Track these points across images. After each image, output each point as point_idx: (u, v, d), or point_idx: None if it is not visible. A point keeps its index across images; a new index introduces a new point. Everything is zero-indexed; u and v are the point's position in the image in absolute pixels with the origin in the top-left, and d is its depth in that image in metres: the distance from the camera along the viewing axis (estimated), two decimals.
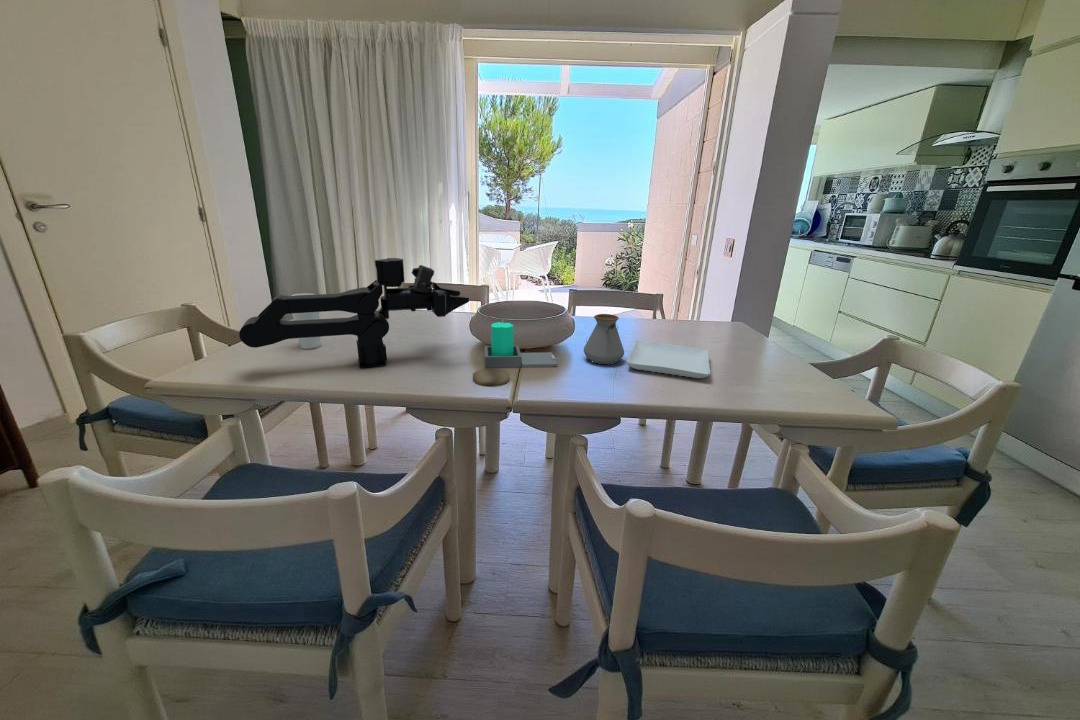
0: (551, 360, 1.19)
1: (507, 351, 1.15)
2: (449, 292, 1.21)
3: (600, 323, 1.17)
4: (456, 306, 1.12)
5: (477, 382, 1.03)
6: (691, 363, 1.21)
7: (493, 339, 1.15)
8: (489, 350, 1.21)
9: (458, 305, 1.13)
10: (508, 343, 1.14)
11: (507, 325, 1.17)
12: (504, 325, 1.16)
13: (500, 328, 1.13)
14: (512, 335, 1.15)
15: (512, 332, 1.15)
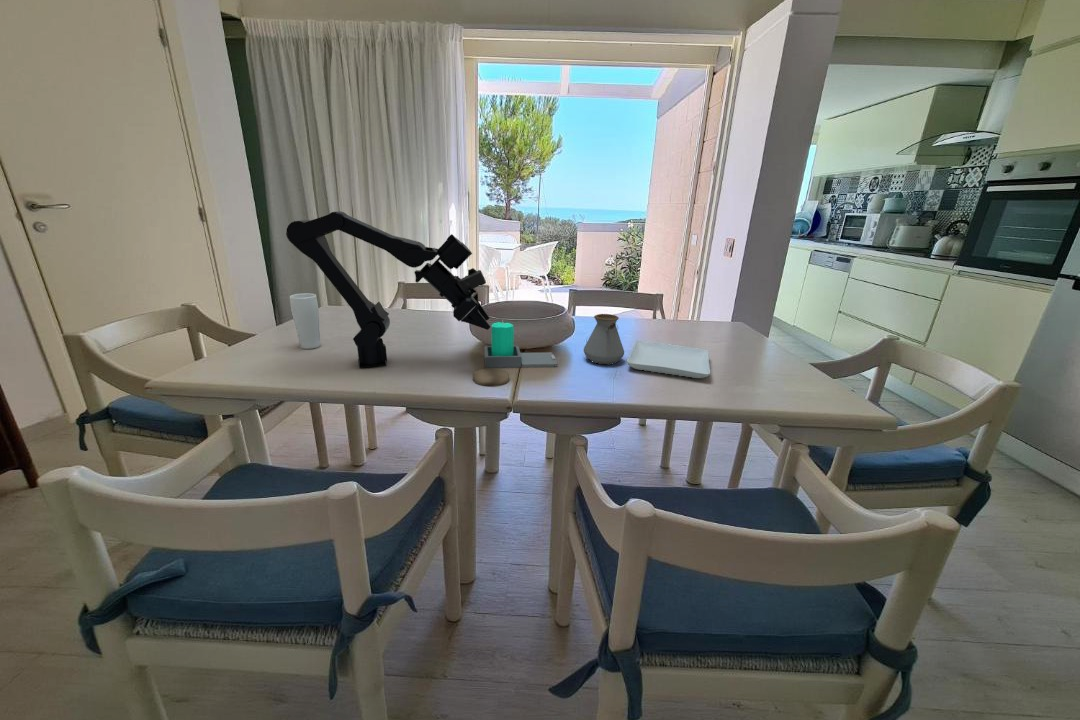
0: (551, 360, 1.19)
1: (508, 351, 1.15)
2: (481, 311, 1.18)
3: (600, 323, 1.17)
4: (475, 323, 1.08)
5: (477, 382, 1.03)
6: (691, 363, 1.21)
7: (493, 339, 1.15)
8: (489, 350, 1.21)
9: (477, 324, 1.08)
10: (508, 343, 1.14)
11: (507, 325, 1.17)
12: (504, 325, 1.16)
13: (500, 328, 1.13)
14: (512, 335, 1.15)
15: (512, 332, 1.15)
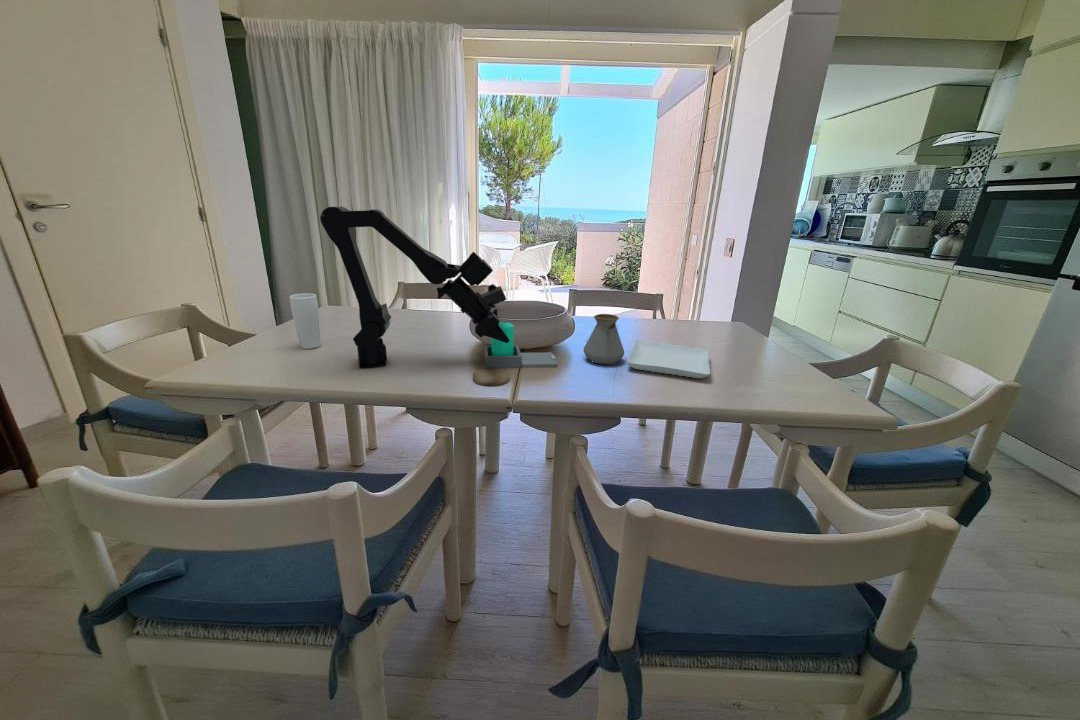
0: (551, 360, 1.19)
1: (508, 351, 1.15)
2: None
3: (600, 323, 1.17)
4: (495, 337, 1.12)
5: (477, 382, 1.03)
6: (691, 363, 1.21)
7: (493, 339, 1.15)
8: (489, 350, 1.21)
9: (497, 337, 1.12)
10: (508, 343, 1.14)
11: (507, 325, 1.17)
12: (504, 325, 1.16)
13: None
14: (512, 335, 1.15)
15: (512, 332, 1.15)
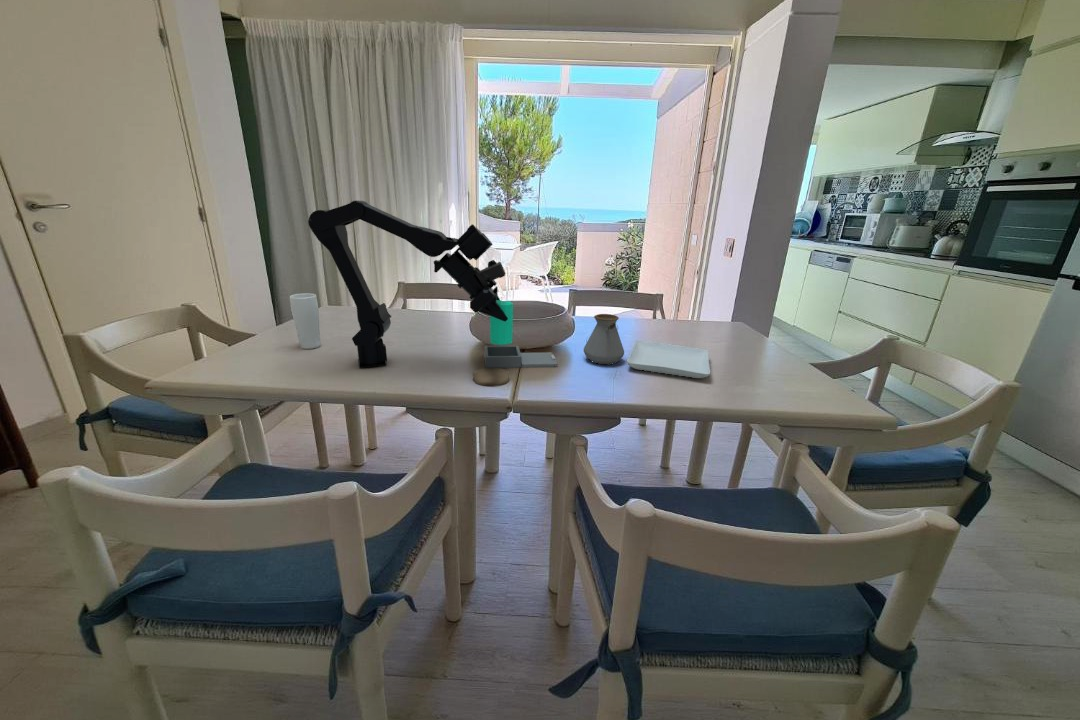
0: (551, 360, 1.19)
1: (506, 330, 1.10)
2: None
3: (600, 323, 1.17)
4: (492, 314, 1.07)
5: (477, 382, 1.03)
6: (691, 363, 1.21)
7: (491, 317, 1.10)
8: (489, 350, 1.21)
9: (494, 315, 1.07)
10: (506, 322, 1.10)
11: (507, 303, 1.12)
12: (504, 303, 1.12)
13: None
14: (511, 313, 1.10)
15: (512, 310, 1.10)
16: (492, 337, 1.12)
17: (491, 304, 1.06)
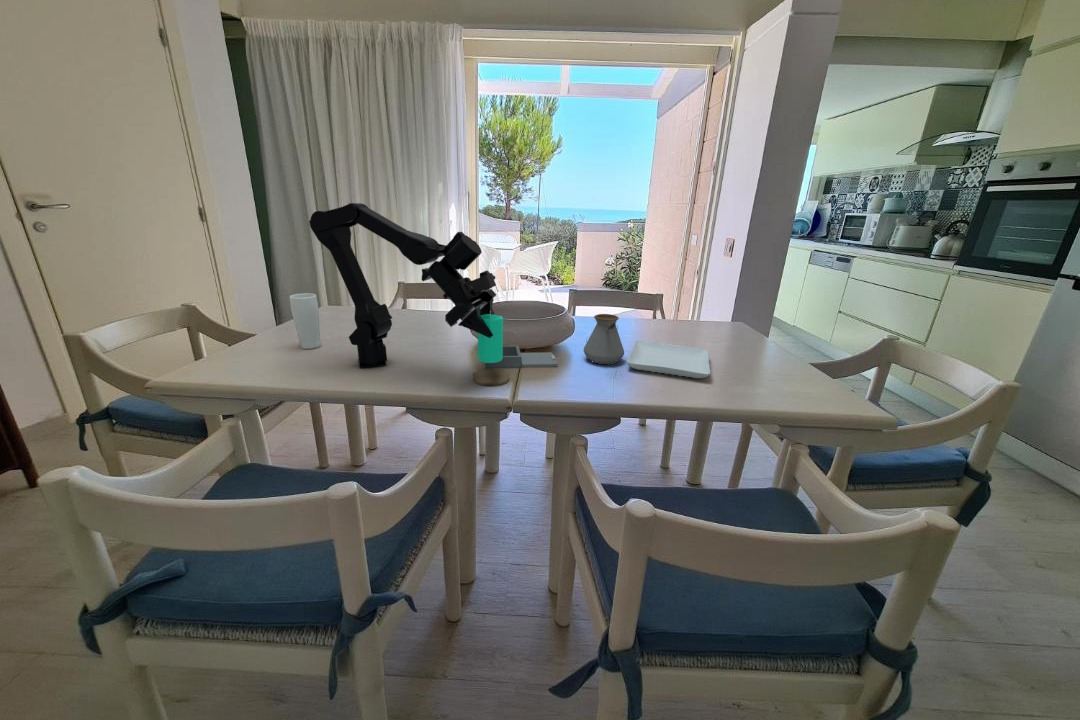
0: (551, 360, 1.19)
1: (491, 347, 1.01)
2: None
3: (600, 323, 1.17)
4: (475, 329, 0.99)
5: (477, 382, 1.03)
6: (691, 363, 1.21)
7: None
8: None
9: (477, 330, 0.99)
10: (491, 339, 1.00)
11: (497, 318, 1.02)
12: (494, 318, 1.02)
13: None
14: (498, 330, 1.00)
15: (499, 326, 1.00)
16: (478, 353, 1.03)
17: (474, 318, 0.98)
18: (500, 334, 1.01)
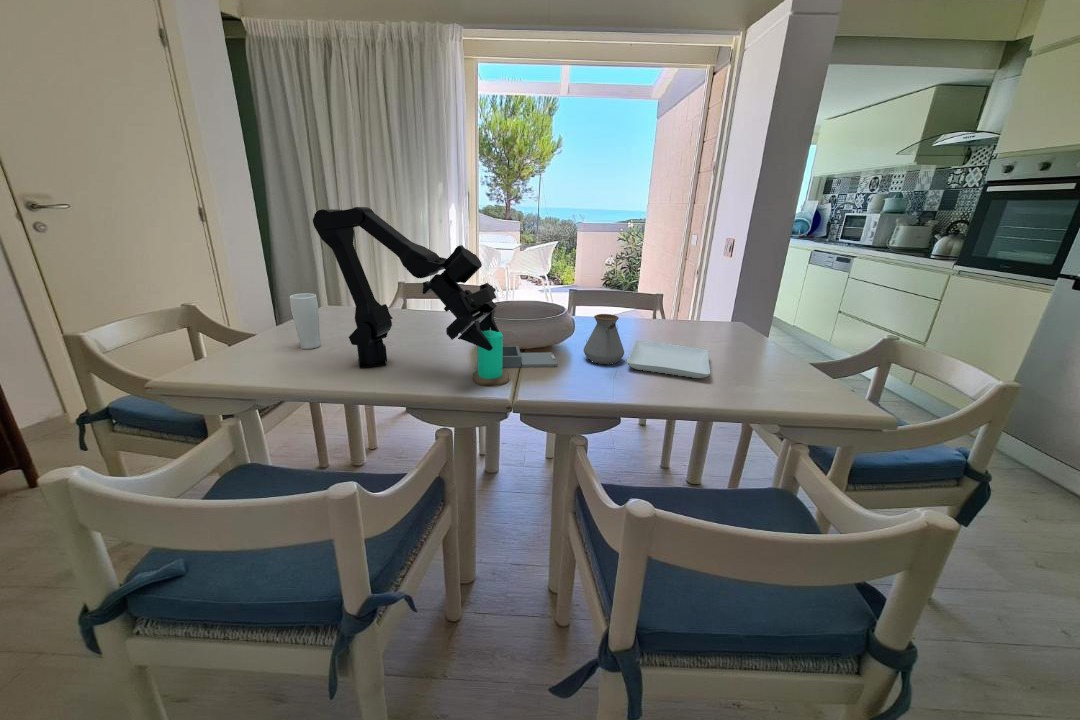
0: (551, 360, 1.19)
1: (491, 364, 1.02)
2: None
3: (600, 323, 1.17)
4: (474, 342, 0.99)
5: (477, 382, 1.03)
6: (691, 363, 1.21)
7: (478, 348, 1.03)
8: None
9: (477, 343, 0.99)
10: (491, 355, 1.01)
11: (497, 335, 1.03)
12: (494, 334, 1.03)
13: None
14: (498, 347, 1.02)
15: (498, 343, 1.01)
16: (478, 369, 1.05)
17: (473, 331, 0.98)
18: (499, 351, 1.02)
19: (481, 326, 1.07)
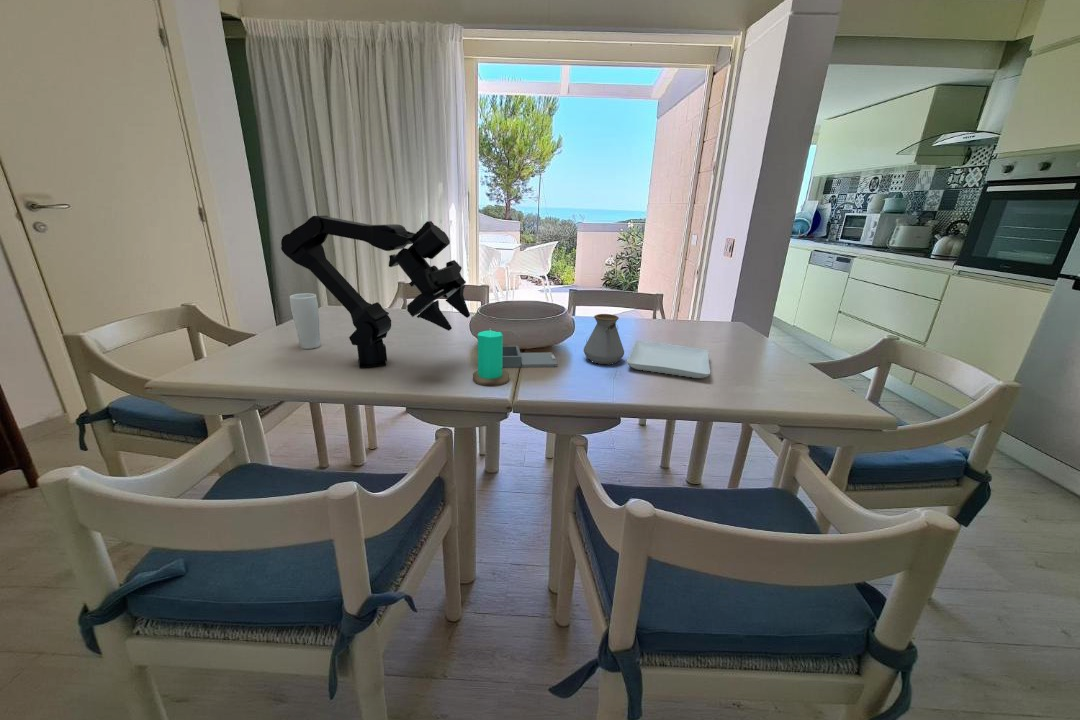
0: (551, 360, 1.19)
1: (491, 363, 1.02)
2: (462, 306, 1.08)
3: (600, 323, 1.17)
4: (434, 321, 1.00)
5: (477, 382, 1.03)
6: (691, 363, 1.21)
7: (478, 348, 1.03)
8: None
9: (436, 323, 1.00)
10: (491, 355, 1.01)
11: (497, 335, 1.03)
12: (494, 334, 1.04)
13: (482, 337, 1.00)
14: (498, 346, 1.02)
15: (498, 343, 1.02)
16: (478, 369, 1.05)
17: (433, 311, 0.99)
18: (499, 351, 1.03)
19: (450, 300, 1.09)
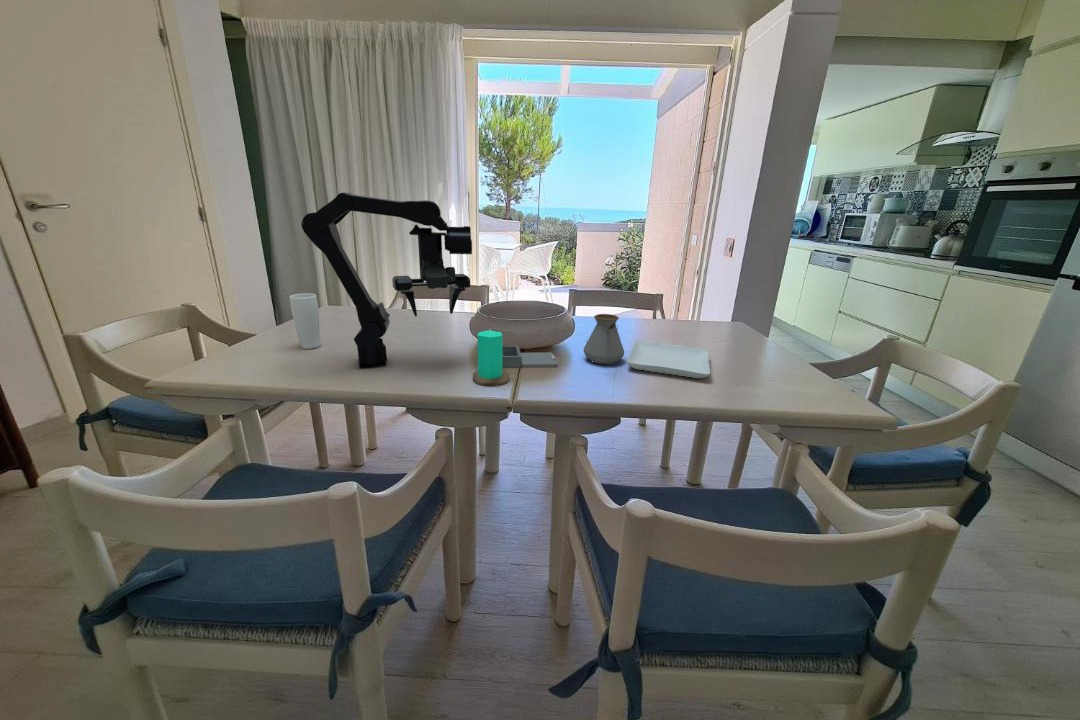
0: (551, 360, 1.19)
1: (491, 363, 1.02)
2: (451, 302, 1.13)
3: (600, 323, 1.17)
4: None
5: (477, 382, 1.03)
6: (691, 363, 1.21)
7: (478, 348, 1.03)
8: None
9: None
10: (490, 355, 1.02)
11: (497, 335, 1.03)
12: (494, 334, 1.04)
13: (482, 337, 1.00)
14: (498, 346, 1.02)
15: (498, 343, 1.02)
16: (478, 369, 1.05)
17: None
18: (499, 351, 1.03)
19: (450, 290, 1.14)
